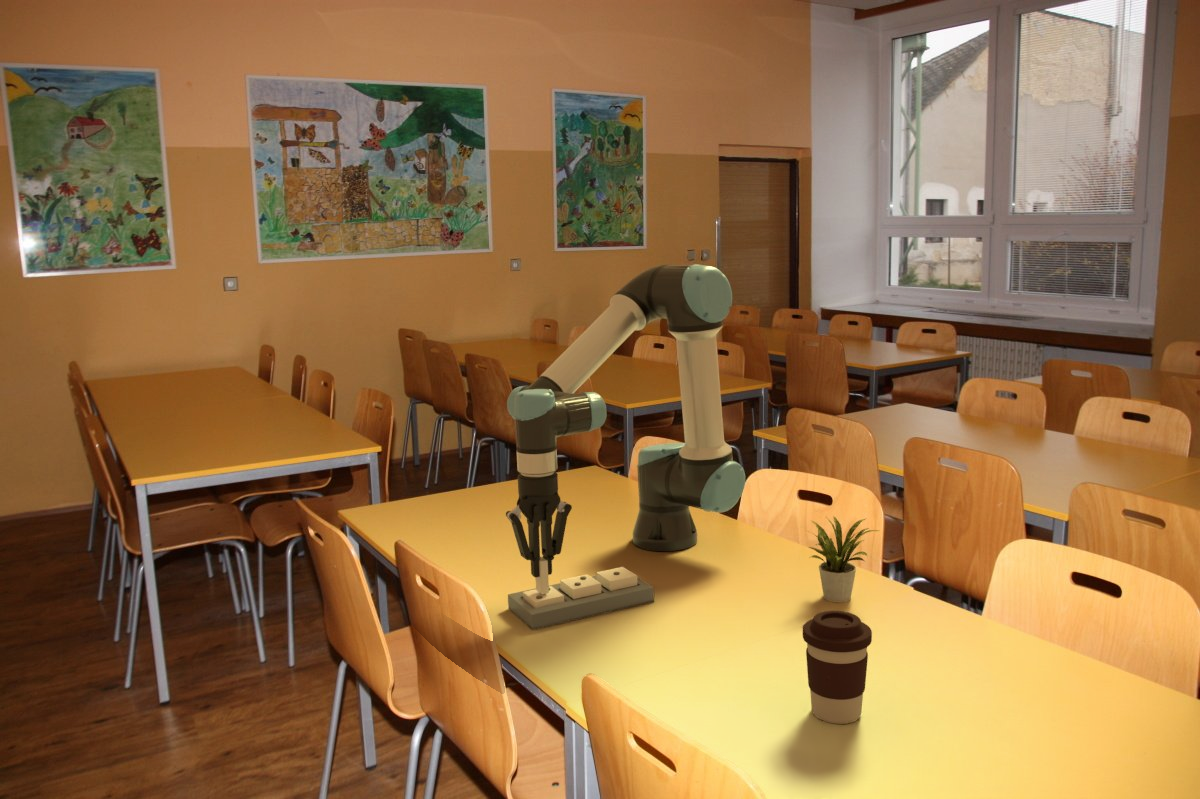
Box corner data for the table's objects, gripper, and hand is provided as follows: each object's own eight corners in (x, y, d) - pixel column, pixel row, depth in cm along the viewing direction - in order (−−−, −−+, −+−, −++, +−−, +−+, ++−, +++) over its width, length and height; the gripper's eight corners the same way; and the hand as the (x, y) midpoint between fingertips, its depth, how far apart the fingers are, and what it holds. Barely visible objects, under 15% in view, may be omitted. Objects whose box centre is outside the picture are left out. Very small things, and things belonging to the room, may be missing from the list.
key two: (587, 583, 195) (587, 573, 194) (601, 593, 189) (601, 582, 189) (560, 589, 192) (560, 578, 192) (573, 599, 187) (573, 588, 186)
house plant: (887, 589, 194) (888, 510, 191) (875, 614, 182) (876, 530, 179) (815, 580, 200) (815, 504, 197) (799, 605, 188) (799, 523, 185)
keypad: (625, 583, 202) (624, 569, 202) (654, 601, 192) (653, 587, 191) (508, 608, 191) (507, 594, 190) (532, 630, 180) (531, 614, 180)
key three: (551, 595, 191) (551, 584, 191) (564, 605, 186) (563, 594, 186) (523, 601, 189) (522, 590, 188) (535, 611, 183) (535, 600, 183)
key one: (623, 576, 198) (622, 565, 198) (637, 585, 193) (637, 574, 193) (596, 581, 196) (596, 571, 195) (610, 591, 190) (610, 580, 190)
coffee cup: (794, 700, 150) (794, 608, 148) (857, 695, 151) (858, 603, 149) (813, 732, 141) (814, 634, 138) (880, 727, 141) (882, 629, 139)
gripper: (560, 463, 189) (564, 579, 193) (497, 472, 183) (503, 592, 187) (577, 471, 182) (581, 591, 186) (512, 481, 177) (518, 604, 181)
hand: (542, 591), depth 187 cm, fingers closed
